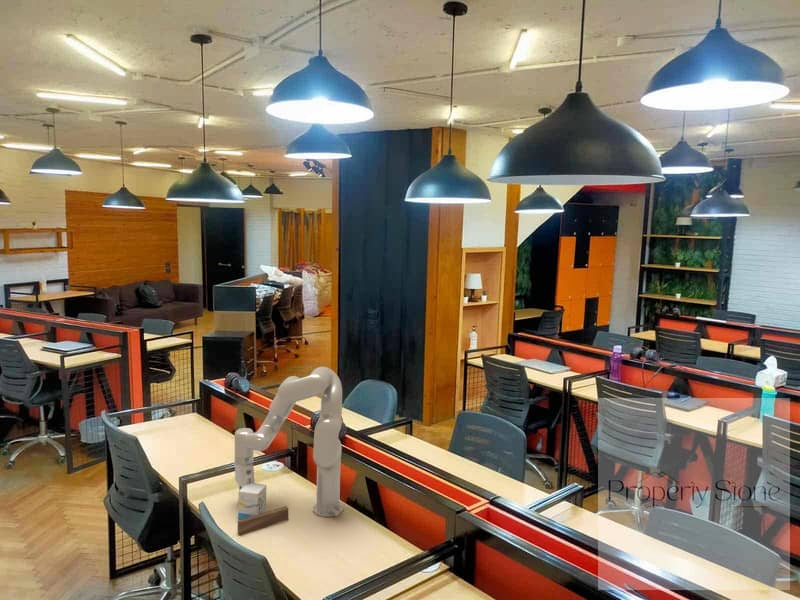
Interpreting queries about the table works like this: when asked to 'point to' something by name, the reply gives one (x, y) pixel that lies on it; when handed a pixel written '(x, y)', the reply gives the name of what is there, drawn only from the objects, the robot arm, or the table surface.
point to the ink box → (251, 500)
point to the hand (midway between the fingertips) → (243, 500)
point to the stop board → (262, 520)
